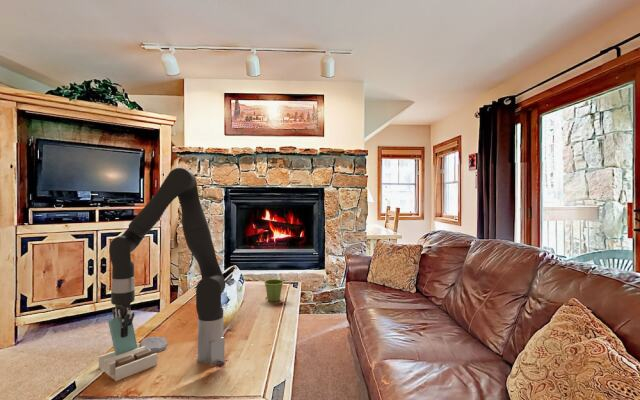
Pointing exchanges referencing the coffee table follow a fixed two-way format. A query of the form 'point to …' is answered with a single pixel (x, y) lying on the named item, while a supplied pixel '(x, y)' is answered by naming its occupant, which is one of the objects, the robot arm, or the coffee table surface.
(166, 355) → the coffee table surface
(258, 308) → the coffee table surface
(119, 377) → the rack
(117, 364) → the offcut
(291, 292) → the coffee table surface
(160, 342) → the stone block
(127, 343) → the sheet
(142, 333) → the coffee table surface
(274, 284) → the plant pot
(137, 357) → the offcut
